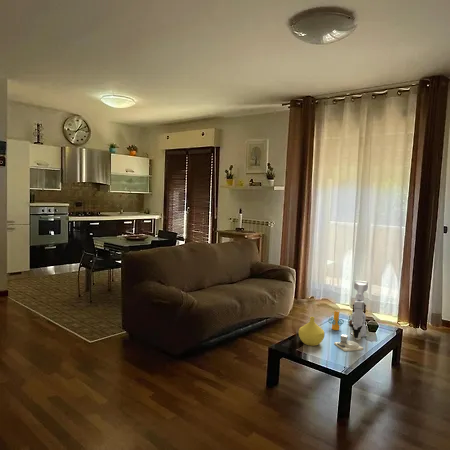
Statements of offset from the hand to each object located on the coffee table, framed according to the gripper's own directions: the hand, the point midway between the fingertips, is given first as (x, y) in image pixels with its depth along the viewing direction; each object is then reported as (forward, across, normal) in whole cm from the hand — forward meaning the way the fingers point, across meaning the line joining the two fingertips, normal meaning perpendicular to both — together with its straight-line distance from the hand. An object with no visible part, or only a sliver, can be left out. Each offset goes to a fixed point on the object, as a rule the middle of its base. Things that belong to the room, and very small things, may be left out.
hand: (356, 336), depth 273 cm
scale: (+8, 0, -4) cm, 9 cm away
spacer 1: (+6, 0, -8) cm, 11 cm away
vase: (+9, +10, -30) cm, 32 cm away
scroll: (+9, -51, -7) cm, 52 cm away
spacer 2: (+1, 0, 0) cm, 1 cm away
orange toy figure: (+9, -31, -21) cm, 39 cm away
